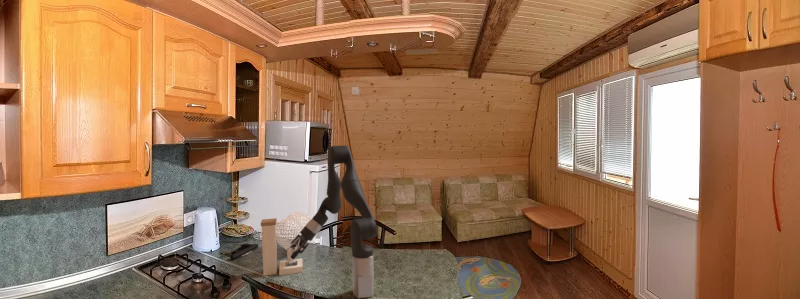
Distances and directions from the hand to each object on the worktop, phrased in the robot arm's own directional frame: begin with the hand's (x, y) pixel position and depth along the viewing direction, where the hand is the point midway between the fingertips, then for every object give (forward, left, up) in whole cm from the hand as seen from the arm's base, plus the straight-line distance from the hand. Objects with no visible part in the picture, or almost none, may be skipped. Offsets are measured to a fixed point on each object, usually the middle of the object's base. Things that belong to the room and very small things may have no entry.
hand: (289, 255), depth 163 cm
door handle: (+34, +30, -8) cm, 46 cm away
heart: (+23, -1, -8) cm, 24 cm away
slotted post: (0, +3, -7) cm, 8 cm away
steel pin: (0, -1, -8) cm, 8 cm away
